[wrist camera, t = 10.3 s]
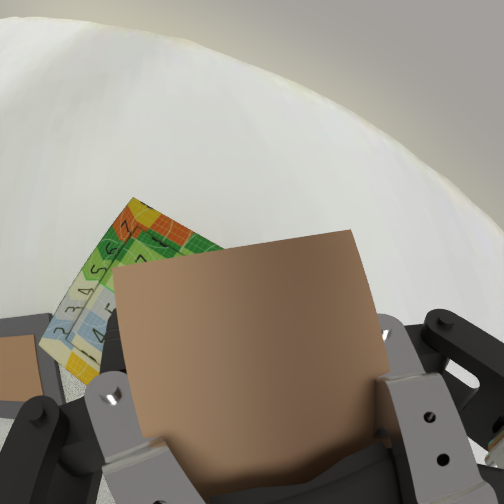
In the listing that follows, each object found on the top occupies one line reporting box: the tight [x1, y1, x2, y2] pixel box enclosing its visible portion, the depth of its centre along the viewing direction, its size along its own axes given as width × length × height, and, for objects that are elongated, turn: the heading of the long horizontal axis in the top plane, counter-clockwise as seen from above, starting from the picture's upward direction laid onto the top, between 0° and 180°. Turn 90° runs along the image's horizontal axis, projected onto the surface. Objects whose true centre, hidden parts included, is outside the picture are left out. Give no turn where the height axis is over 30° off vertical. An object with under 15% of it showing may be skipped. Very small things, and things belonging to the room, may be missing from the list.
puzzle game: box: [38, 197, 223, 385], centre depth 17 cm, size 12×5×20 cm
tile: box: [0, 313, 66, 419], centre depth 16 cm, size 8×8×1 cm
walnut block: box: [112, 229, 392, 504], centre depth 9 cm, size 5×5×9 cm
